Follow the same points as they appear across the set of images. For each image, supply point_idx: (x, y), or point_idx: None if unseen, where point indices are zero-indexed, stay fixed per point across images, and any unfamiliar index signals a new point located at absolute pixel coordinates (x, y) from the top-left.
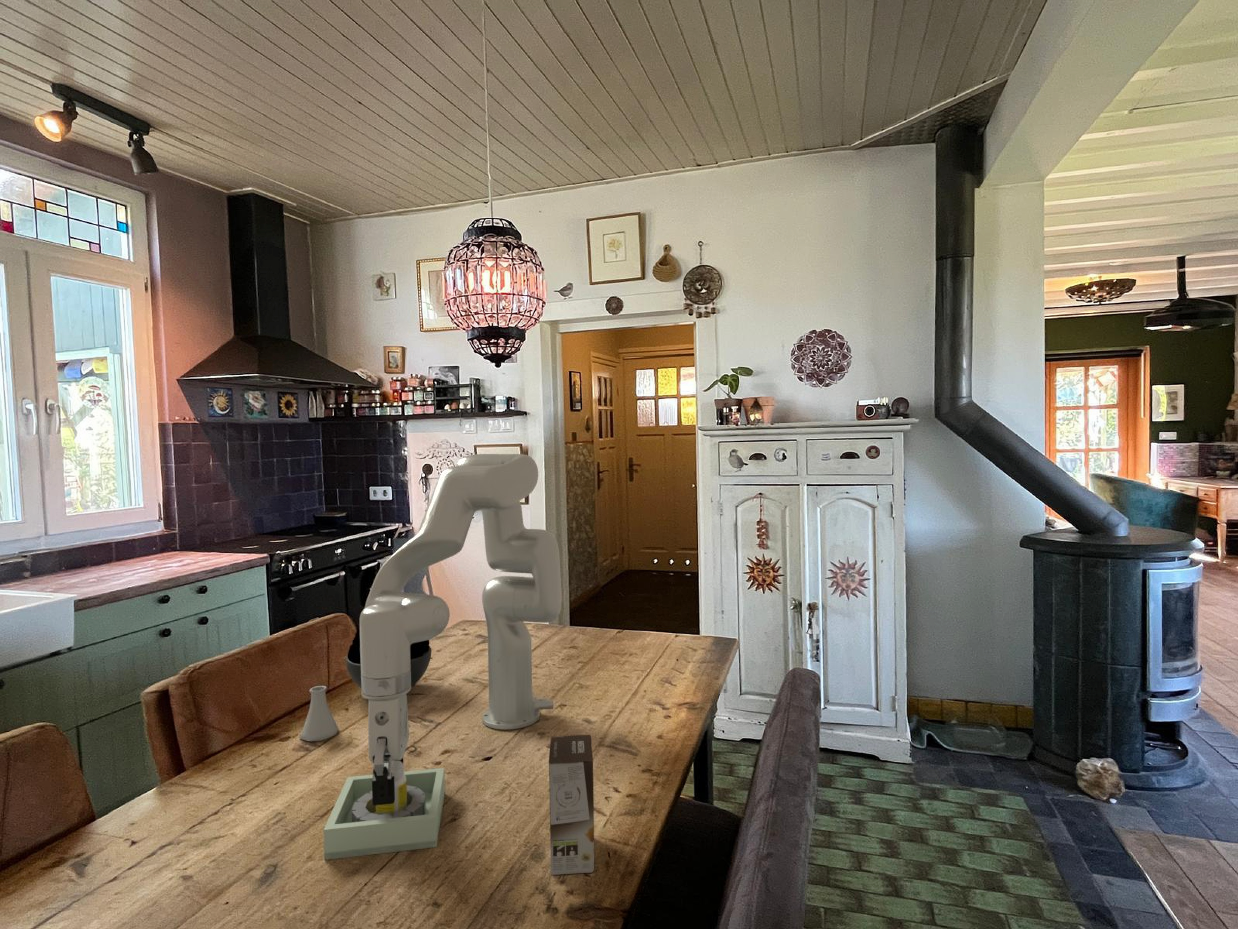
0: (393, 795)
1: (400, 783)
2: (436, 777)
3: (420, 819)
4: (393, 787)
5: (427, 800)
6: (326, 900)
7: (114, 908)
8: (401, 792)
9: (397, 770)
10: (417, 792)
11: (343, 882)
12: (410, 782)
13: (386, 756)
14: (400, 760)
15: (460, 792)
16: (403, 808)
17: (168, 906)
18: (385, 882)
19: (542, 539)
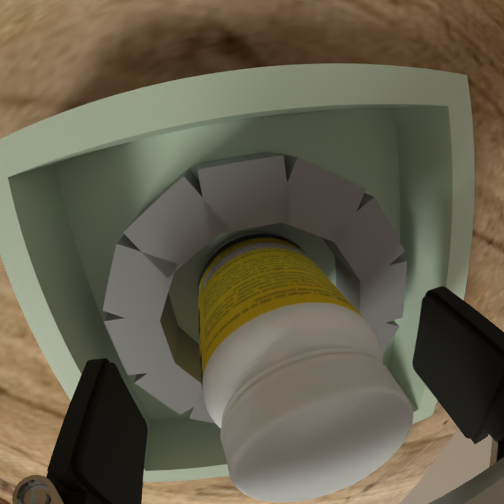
0: (461, 304)
1: (360, 322)
2: (62, 150)
3: (473, 137)
4: (491, 325)
5: (123, 180)
6: (501, 295)
7: (400, 492)
8: (335, 289)
9: (400, 398)
10: (173, 222)
11: (474, 290)
12: (65, 291)
13: (133, 497)
14: (99, 422)
15: (34, 85)
16: (293, 249)
17: (421, 463)
18: (495, 200)
19: None
